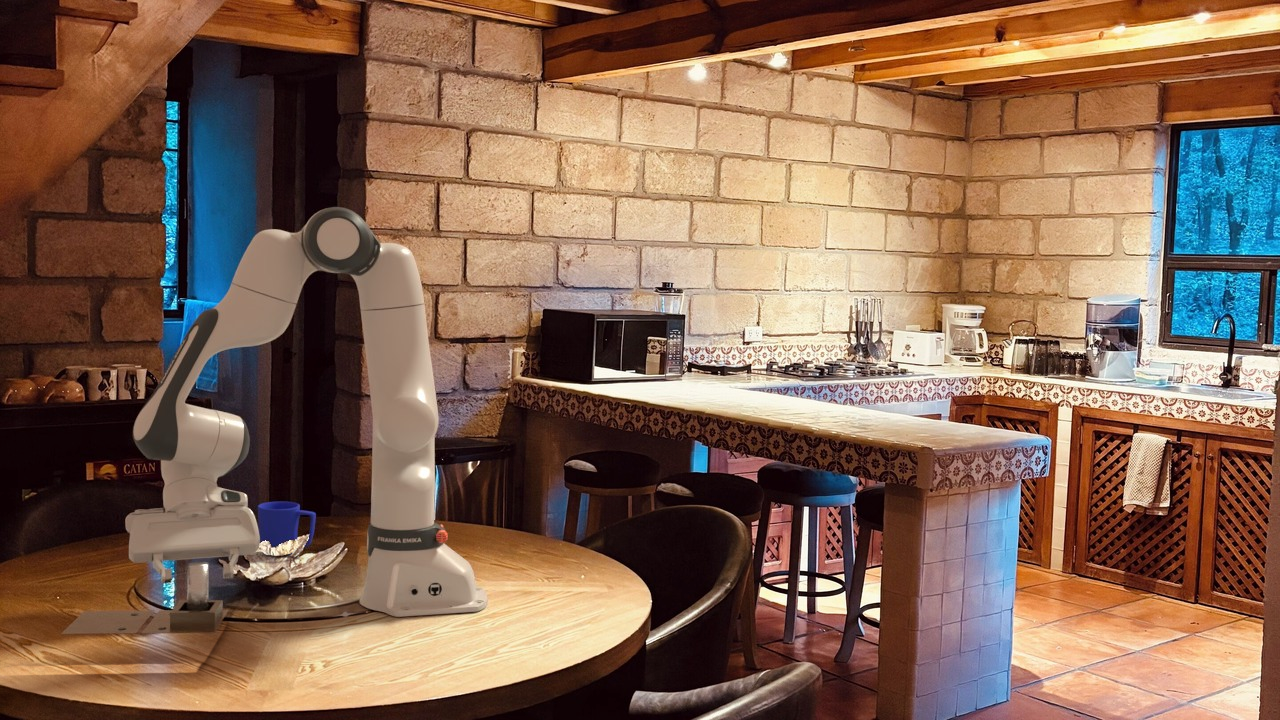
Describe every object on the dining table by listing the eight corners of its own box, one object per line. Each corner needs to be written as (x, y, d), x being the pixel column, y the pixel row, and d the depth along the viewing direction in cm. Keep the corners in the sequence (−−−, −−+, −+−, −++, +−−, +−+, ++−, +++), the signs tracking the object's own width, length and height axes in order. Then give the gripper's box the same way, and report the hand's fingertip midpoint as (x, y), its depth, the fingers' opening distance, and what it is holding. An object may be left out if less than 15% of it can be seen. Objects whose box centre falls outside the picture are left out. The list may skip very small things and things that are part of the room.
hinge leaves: (228, 616, 198) (228, 595, 198) (214, 639, 186) (214, 617, 186) (84, 618, 194) (84, 596, 194) (60, 641, 182) (60, 618, 182)
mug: (304, 562, 235) (305, 512, 234) (249, 556, 237) (249, 507, 236) (323, 552, 243) (324, 504, 242) (269, 547, 245) (270, 500, 244)
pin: (209, 617, 193) (210, 561, 192) (205, 623, 190) (206, 566, 189) (189, 618, 193) (189, 561, 192) (185, 623, 189) (185, 566, 189)
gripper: (125, 500, 191) (128, 574, 183) (256, 493, 200) (264, 563, 193) (124, 521, 196) (127, 594, 188) (252, 513, 205) (260, 583, 197)
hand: (198, 578), depth 190 cm, fingers open, 8 cm apart
